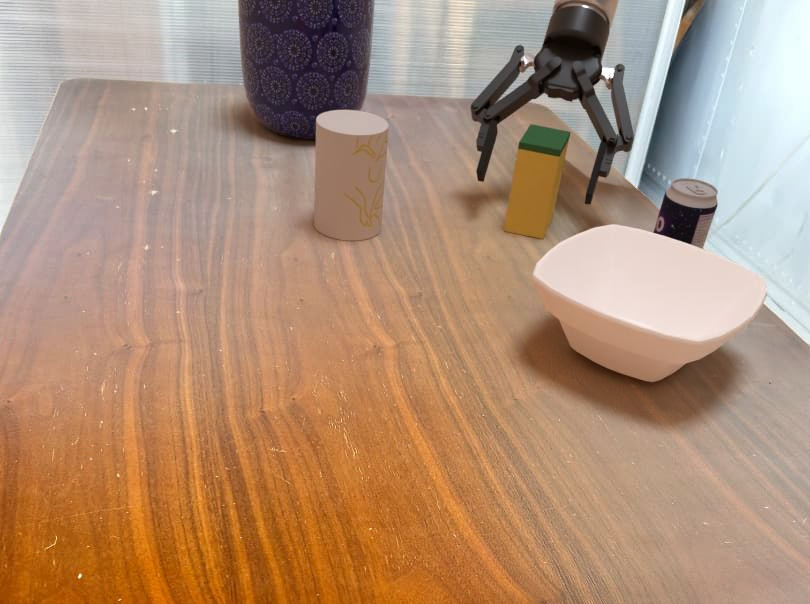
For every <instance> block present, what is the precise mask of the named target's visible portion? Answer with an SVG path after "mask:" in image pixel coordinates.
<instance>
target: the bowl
mask: <svg viewBox="0 0 810 604" xmlns="http://www.w3.org/2000/svg"><path fill="white" fill-rule="evenodd" d="M530 279H531V282H532V285H533V286H534V289H535V291H536V293H537V296H538V298H539V300H540V302H541V305H542V307H543V308H544V309H545V310H546V311H547V312H548V313H549V314H550V315H553V317H555V318H556V319H557V320H558V321H559V324H560V326H561V328H562V330H563V332H564V335H565V337H566V339H567V342H568V344H569V346H570V348H571V349H573V350H574V351H575V352H576V353H578V354H580V355H581V356H583V357H585V358H587V360H590V361H592V362H594V363H596V364H597V365H599V366H601V367H604V368H606V369H608V370H611V371H613V372H616V373H618V374H621V375H625V376H627V377H631V378H634V379H637V380H641V381H643V382H644V381H645V382H649V383H654V382H658V381H661V380H663V379H665V378H667V377H668V376H671V375H672V374H674V373H676V372H677V371H679V370H680V369H681V368H683V367H684V366H685V365H686V364H689V363H692V362H696V361H699V360H701V359H704V357H706V356H708V355H711V354H712V353H713V352H715V351H717V350H718V349H719V348H721V347H722V346H724V344H726V343H727V342H728V341H730V340H731V339H732V338H734V337H735V336H736V335H737V334H738V333H740V332H741V331H742V330H743V329H745V328H747V326H748V325H749V324H751V323H752V322H753V321H754V319H755V318H756V317H757V315H758V314H759V312H760V311H761V309H762V307H763V305H764V303H765V301H766V298H767V296H768V290H767V280H766V278H764V277H763V276H761V275H759V274H758V273H756V272H754V271H753V270H751V269H749V268H747V267H746V266H744V265H741V264H740V263H737V262H735V261H732V260H730V259H728V258H726V257H725V256H721V255H719V254H716V253H713V252H711V251H709V250H706V249H704V248H703V249H701V248H699V247H696V246H694V245H690V244H687V243H684V242H681V241H678V240H675V239H672V238H669V237H666V236H663V235H659V234H656V233H653V232H652V231H648V230H645V229H641V228H637V227H632V226H626V225H622V224H615V223H613V224H612V223H611V224H605V225H601V226H600V225H599V226H595V227H591V228H589V229H587V230H584V231H582V232H578V233H576V234H574V235H572V236H570V237H568V238H566V239H564V240H562V241H560V242H558V244H556V245H554V246H553V247H552V248H551V249H549V250H548V251H547V252H546V253H545V254H544V255H543V256H541V258H540V259H539V260H538V261H537V262H536V263H535V265H534V268H533V271H532V274H531V278H530Z"/></svg>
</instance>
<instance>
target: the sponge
mask: <svg viewBox="0 0 810 604" xmlns="http://www.w3.org/2000/svg"><path fill="white" fill-rule="evenodd" d="M570 137H571V131H570V130H569V131H568V130H564V129H558V128H553V127H548V126H542V125H538V124H532V123H531V124H530V125H529V126H528V128H527V129H526V131H524V134H523V135H522V137H521V138H520V140H519V141H518V148H517V153H516V159H515V164H514V170H513V175H512V176H513V177H512V181H511V187H510V193H509V197H508V204H507V210H506V216H505V222H504V227H503V231H504V232H508V233H511V234H516V235H522V236H527V237H530V238H534V239H539V240H543V239H544V238H545V235H546V233H547V231H548V229H549V227H550V224H551V222H552V221H553V219H554V218H553V217H554V214H555V208H556V203H557V199H558V194H559V189H560V184H561V181H562V180H561V179H562V175H563V171H564V165H565V162H566V161H565V160H566V157H567V153H568V151H567V150H568V147H569V142H570Z"/></svg>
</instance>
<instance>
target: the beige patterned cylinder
mask: <svg viewBox="0 0 810 604" xmlns="http://www.w3.org/2000/svg"><path fill="white" fill-rule="evenodd" d="M389 125H390V124H389V122H388V121H387V119H385V118H383V117H382V116H379V115H378V114H375V113H371V112H367V111H363V110H361V111H356V110H333V111H328V112H324V113H322V114H320V115H318V116H317V118H316V139H315V153H314V155H315V156H314V157H315V159H314V161H315V162H314V199H313V201H314V206H313V210H314V211H313V226H314V228H315V230H317V232H319V233H320V234H321V235H323V236H325V237H328V238H331V239H335V240H340V241H348V242H349V241H350V242H351V241H352V242H355V241H365V240H369V239H372V238H374V237H376V236H378V235H379V234H380V233H381V231H382V220H383V207H384V205H383V204H384V193H385V182H386V181H385V179H386V169H387V153H388V139H389V127H390V126H389Z"/></svg>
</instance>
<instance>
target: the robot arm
mask: <svg viewBox="0 0 810 604" xmlns="http://www.w3.org/2000/svg"><path fill="white" fill-rule="evenodd" d="M619 1H620V0H554V4H553V7H552V11H551V14H552V15H550V18H549V21H548V24H547V28H546V31H545V36H544V39H543V41H542V46H541V48H540V50H539V51H538V53H536V54H535V53H532V52H528V51H526V50H525V47H524V45H522V44H517V45H516V46H515V47H514V49H513V52H512V55H511V56H510V59H509V60H508V62H507V63H506V64H505V65H504V66H503V68H501V70H500V71H499V72H498V73H497V74H496V75H495V77H494V78H493V79H492V80H491V81H490V83H488V84H487V85H486V87H485V88H484V89H483V90H482V91H481V92H480V94H479V95H478V96H477V97H476V98H475V99H474V101H472V102H471V104H470V115H471V119H472V121H473V122H478V123H479V124H480V127H479V130H478V134H477V138H476V150H477V152H480V155H479V156H480V157H479V160H478V162H477V163H478V164H477V167H476V178H477V182H481V183H484V182H485V178H486V176H487V172H488V168H489V164H490V161H491V157H492V154H493V150H494V147H495V143H496V140H497V137H498V132H499V131H498V125H499V124H500V123H502V122H503V121H505V120H506V119H508V118H509V117H510V116H511V115H513V114H514V113H516V112H517V111H518V110H520V109H522V107H524V106H525V105H527V104H528V103H529V102H531V101H532V100H537V99H538V98H539V97H541V96H543V95H544V94H545V95H546V96H547V98H550V99H562V100H563V101H566V102H570V103H572V102H573V101H575V100H578V101H579V103H580V105H581V107H582V109H583V110H585V113H586V114H587V116H588V118H589V120H590V122H591V124H592V127H593V129H594V130H595V132H596V134H597V136H598V138H599V140H600V143H599V146H598V150H597V153H596V157H595V160H594V163H593V167H592V171H591V175H590V178H589V182H588V184H587V188H586V192H585V197H584V204H585V205H589V206H591V205H592V202H593V198H594V194H595V191H596V187H597V184H598V181H599V177H600V178H604V179H607V177H608V176H609V175H610V171H611V168H612V166H613V161H614V157H615V155H616V154H617V153H618V152H624V153H629V152H631V151H632V149H633V144H634V141H635V134H634V129H633V124H632V120H631V115H630V109H629V105H628V101H627V96H626V90H625V88H624V83H623V82H624V76H625V71H626V70H625V69H626V67H625V65H624V64H622V63H618V64H616V65H615V66H614V67H603V63H602V61H603V58H604V55H605V54H604V53H605V50H606V47H607V45H608V44H607V43H608V41H609V36H610V32H611V31H610V30H611V28H612V26H613V23H614V19H615V15H616V12H617V9H618V5H619ZM530 67H533V70H534V73H532V74H531V75H530V76H528V77H527V80H526V81H525V82H523V83H522V84H520V85H519V86H517V87H516V88H515V89H513V90H512V91H510V92H509V93H508V94H506V95H505V96H503V95H504V94H505V93H506V92H507V90H509V88H510V87H511V86H512V85H513V83H515V82H516V80H517V79H518V77H519V76H520V74H521V73H522V74H523V73H525V72H526V71H527V70H528V69H529V68H530ZM600 81H603V82H604V84H605V87H606V88H607V89H608V90H610V99H611V104H612V109H613V112H614V113H613V114H614V117H615V122H616V127H617V132H618V133H617V134H616V131H615V129H614V127H613V125H612V123H611V122H610V120H609V118H608V116H607V114H606V111H605V110H604V108H603V106H602V104H601V101H600V100H599V98H598V96H597V94H596V90H595V85H597V84H599V83H600ZM502 96H503V97H502ZM501 97H502V98H501ZM500 98H501V99H500Z"/></svg>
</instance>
